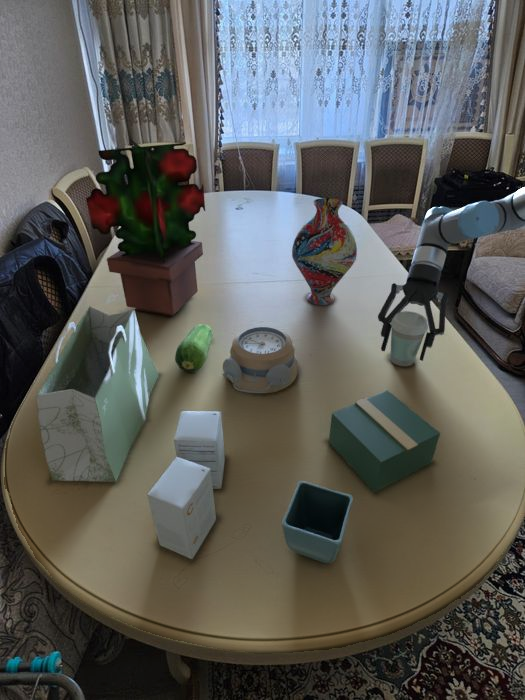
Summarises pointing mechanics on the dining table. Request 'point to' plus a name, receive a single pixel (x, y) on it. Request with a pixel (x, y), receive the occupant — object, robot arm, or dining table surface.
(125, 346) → the green gift bag
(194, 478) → the small box
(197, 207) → the potted plant
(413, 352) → the coffee cup
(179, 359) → the vegetable
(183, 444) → the white packaging box
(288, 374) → the alarm clock
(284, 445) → the dining table surface
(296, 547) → the flower pot
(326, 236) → the vase
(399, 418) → the green parcel box
